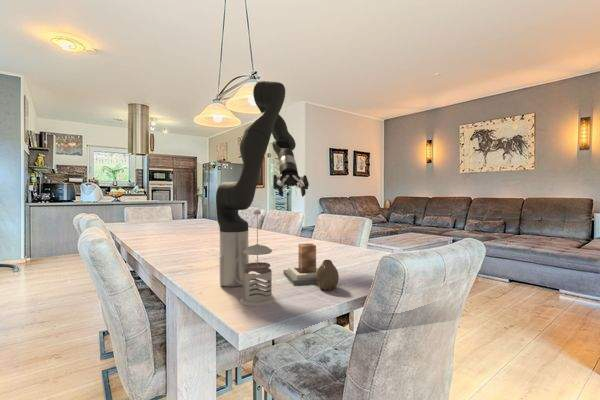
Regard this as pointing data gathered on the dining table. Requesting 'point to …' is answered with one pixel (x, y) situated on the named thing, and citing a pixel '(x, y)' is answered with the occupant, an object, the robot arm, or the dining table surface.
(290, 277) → the pocket board
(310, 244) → the copper rectangular block
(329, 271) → the vase
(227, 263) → the robot arm
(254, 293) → the french press
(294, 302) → the dining table surface
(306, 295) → the dining table surface
